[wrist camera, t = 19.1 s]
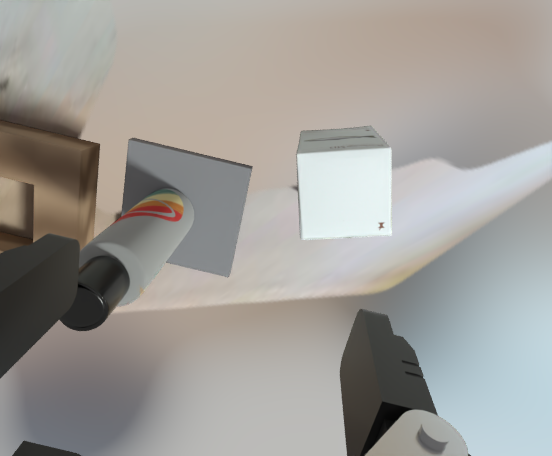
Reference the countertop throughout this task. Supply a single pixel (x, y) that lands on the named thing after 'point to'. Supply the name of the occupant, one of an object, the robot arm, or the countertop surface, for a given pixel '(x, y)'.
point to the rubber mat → (192, 199)
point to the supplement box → (344, 184)
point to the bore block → (52, 181)
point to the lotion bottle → (128, 257)
